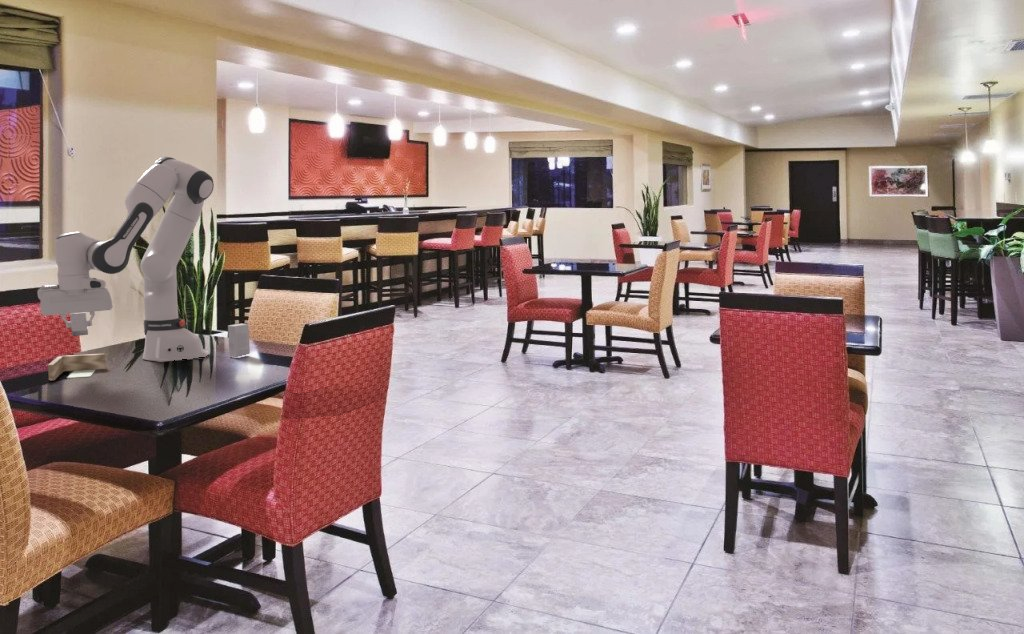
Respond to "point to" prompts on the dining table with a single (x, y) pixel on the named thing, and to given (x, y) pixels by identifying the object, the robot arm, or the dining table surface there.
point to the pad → (81, 373)
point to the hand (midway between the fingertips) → (79, 326)
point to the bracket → (79, 324)
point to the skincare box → (238, 340)
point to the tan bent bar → (75, 364)
